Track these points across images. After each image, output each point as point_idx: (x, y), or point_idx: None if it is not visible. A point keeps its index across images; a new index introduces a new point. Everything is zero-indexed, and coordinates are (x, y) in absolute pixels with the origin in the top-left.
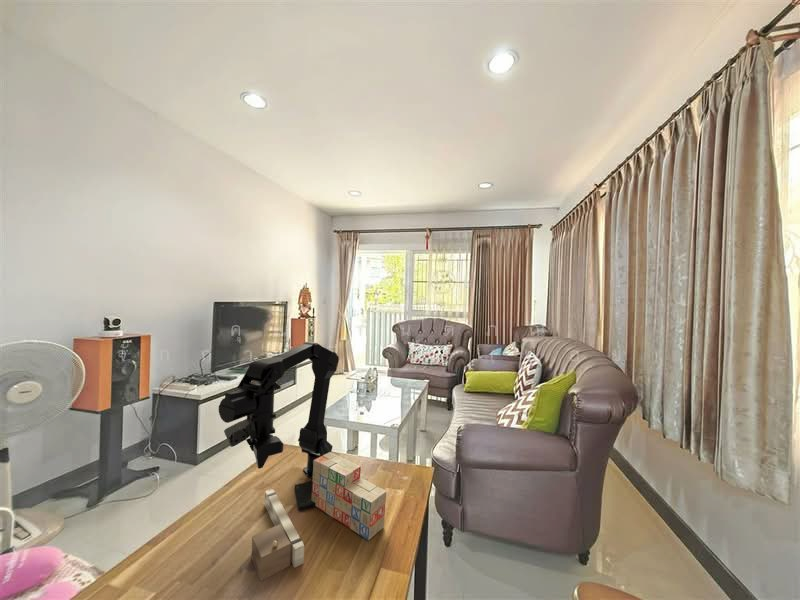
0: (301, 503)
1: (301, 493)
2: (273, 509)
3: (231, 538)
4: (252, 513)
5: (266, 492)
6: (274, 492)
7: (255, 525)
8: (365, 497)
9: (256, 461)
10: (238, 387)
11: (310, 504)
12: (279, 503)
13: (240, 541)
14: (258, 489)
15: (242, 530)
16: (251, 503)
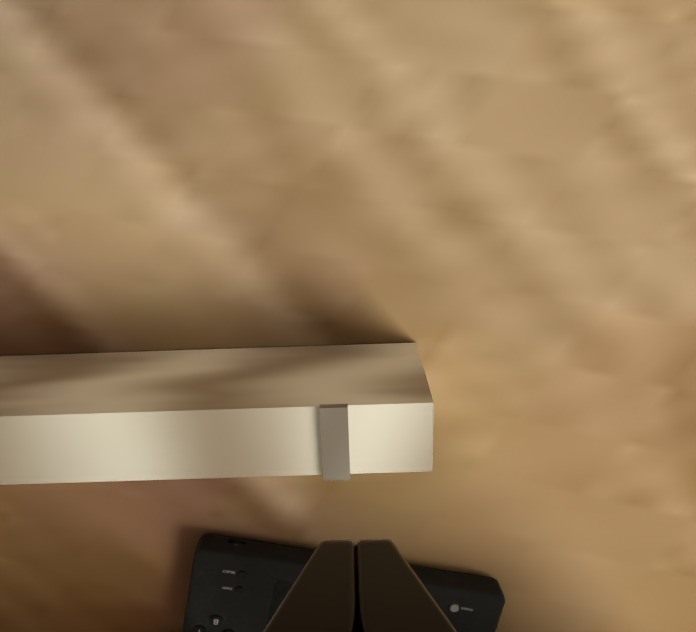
0: (231, 578)
1: None
2: (120, 402)
3: (123, 18)
4: (366, 234)
5: (396, 407)
6: (342, 471)
7: (196, 227)
8: None
9: (418, 623)
10: None
11: (184, 623)
12: (148, 469)
13: (53, 84)
14: (681, 342)
15: (184, 121)
16: (513, 252)
